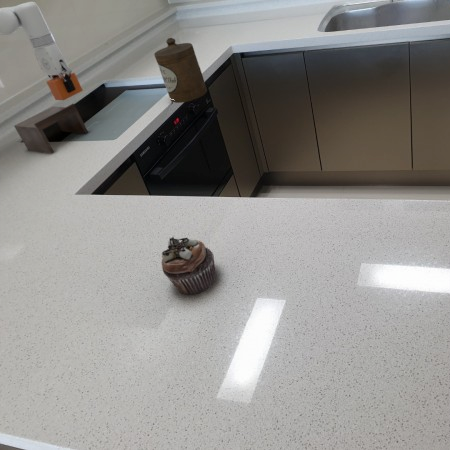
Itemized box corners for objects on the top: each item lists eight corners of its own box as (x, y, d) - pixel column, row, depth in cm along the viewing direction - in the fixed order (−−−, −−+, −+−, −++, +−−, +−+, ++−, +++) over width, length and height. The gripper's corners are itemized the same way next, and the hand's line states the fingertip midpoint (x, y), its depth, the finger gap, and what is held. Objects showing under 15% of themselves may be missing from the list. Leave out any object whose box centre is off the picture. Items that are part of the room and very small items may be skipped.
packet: (55, 100, 171) (46, 81, 167) (74, 90, 177) (66, 72, 173) (63, 100, 169) (54, 81, 165) (82, 90, 175) (74, 72, 170)
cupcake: (219, 292, 85) (203, 251, 80) (168, 302, 86) (148, 262, 80) (221, 259, 93) (207, 220, 87) (175, 269, 93) (157, 230, 88)
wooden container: (167, 96, 186) (146, 41, 173) (201, 85, 190) (184, 30, 177) (175, 106, 174) (154, 47, 162) (211, 94, 178) (194, 35, 166)
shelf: (28, 150, 165) (11, 121, 158) (64, 130, 176) (50, 102, 169) (51, 153, 158) (35, 123, 152) (88, 132, 169) (74, 103, 162)
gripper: (19, 45, 163) (45, 94, 173) (48, 43, 155) (73, 95, 165) (37, 38, 168) (61, 87, 178) (66, 36, 160) (89, 87, 170)
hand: (67, 90), depth 172 cm, fingers closed on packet, 5 cm apart
